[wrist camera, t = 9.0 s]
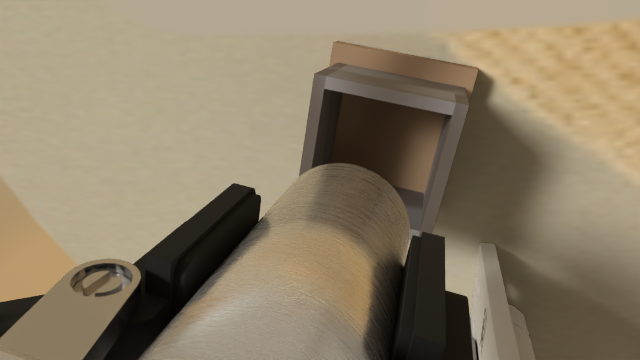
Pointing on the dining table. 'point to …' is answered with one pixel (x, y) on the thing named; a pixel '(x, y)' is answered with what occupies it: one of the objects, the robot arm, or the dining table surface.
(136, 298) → the robot arm
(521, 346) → the hinge
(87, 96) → the dining table surface
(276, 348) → the hinge pin
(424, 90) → the open cube shadow box
